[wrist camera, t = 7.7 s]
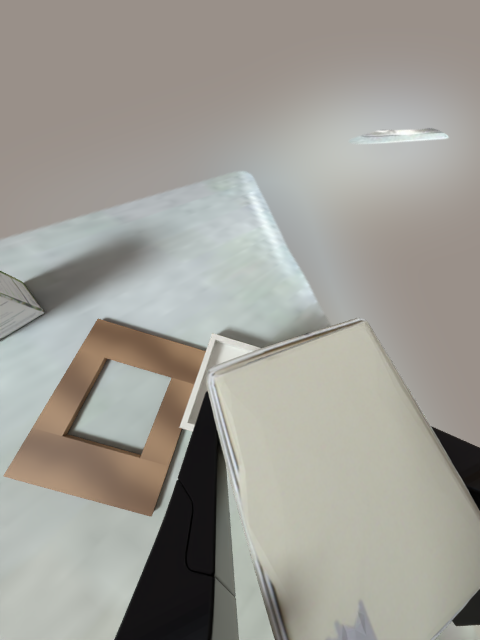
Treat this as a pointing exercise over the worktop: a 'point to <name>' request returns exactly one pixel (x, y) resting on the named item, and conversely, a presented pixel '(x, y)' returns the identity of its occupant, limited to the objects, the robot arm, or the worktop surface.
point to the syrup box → (15, 305)
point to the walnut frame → (98, 459)
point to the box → (344, 490)
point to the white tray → (215, 354)
